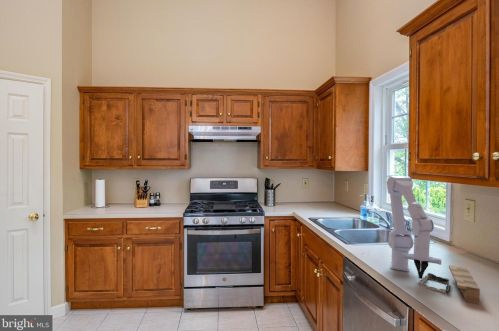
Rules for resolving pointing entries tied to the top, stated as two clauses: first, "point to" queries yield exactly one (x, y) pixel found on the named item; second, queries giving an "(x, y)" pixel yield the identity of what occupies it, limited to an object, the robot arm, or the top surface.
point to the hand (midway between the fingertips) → (420, 277)
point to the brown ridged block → (466, 284)
